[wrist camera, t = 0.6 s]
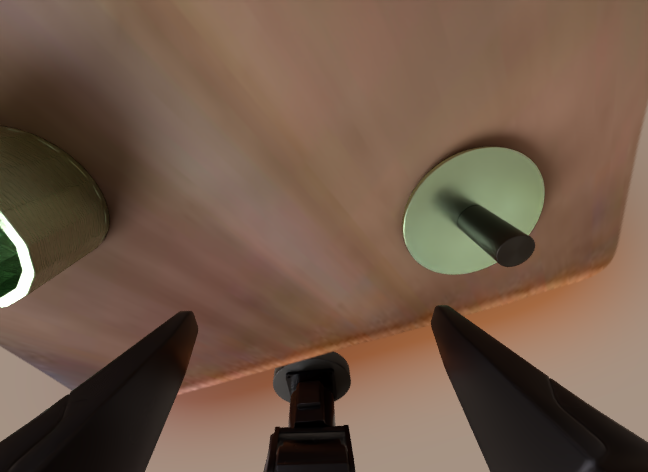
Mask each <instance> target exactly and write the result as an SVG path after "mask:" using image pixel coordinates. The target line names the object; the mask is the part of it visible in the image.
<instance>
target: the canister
mask: <svg viewBox="0 0 648 472" xmlns="http://www.w3.org/2000/svg"><path fill="white" fill-rule="evenodd" d="M108 228H109V213H108V208H107V204H106V201H105V199H104V197H103V195H102V192H101V191H100V189H99V187H98V186H97V184H96V183H95V181H94V180H93V179H92V177H91V176H90V175H89V174H88V173H87V172H86V170H85V169H84V168H83V167H82V166H81V165H80V164H79V163H78V162H76V161H75V160H74V159H73V158H72V157H71V156H69V155H68V154H67V153H66V152H64V151H63V150H61V149H60V148H58V147H57V146H55V145H54V144H52V143H50V142H48V141H46V140H44V139H43V138H40V137H38V136H36V135H33V134H31V133H28V132H25V131H22V130H19V129H15V128H10V127H4V126H0V308H1V307H8V306H9V305H11V304H13V303H15V302H16V301H18V300H20V299H21V298H23V297H25V296H27V295H28V294H30V293H31V292H33V291H34V290H36V289H37V288H39V287H40V286H41V285H43V284H44V283H46V282H47V281H49V280H50V279H52V278H53V277H55V276H56V275H58V274H59V273H61V272H62V271H63V270H65V269H66V268H68V267H69V266H71V265H72V264H74V263H75V262H77V261H78V260H80V259H81V258H83V257H84V256H85V255H87V254H88V253H90V252H91V251H93V250H94V249H96V248H97V247H98V246H99V245H100V243H101V242H102V241H103V240H104V238H105V237H106V234H107V232H108Z"/></svg>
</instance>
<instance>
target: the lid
mask: <svg viewBox="0 0 648 472" xmlns="http://www.w3.org/2000/svg"><path fill="white" fill-rule="evenodd" d="M544 197H545V187H544V182H543V178H542V175H541V173H540V171H539V169H538V168H537V166H536V165H535V164H534V163H533V161H532V160H531V159H530V158H528V157H527V156H525V155H524V154H522V153H520V152H518V151H516V150H512V149H509V148H505V147H498V146H483V147H477V148H472V149H469V150H465V151H462V152H460V153H458V154H455V155H453V156H451V157H449V158H448V159H446V160H444V161H443V162H441V163H440V164H438V165H437V166H436V167H434V168H433V169H432V170H431V171H430V172H429V173H427V174H426V175H425V177H424V178H423V179H422V180H421V181H420V182H419V183H418V185H417V186H416V188H415V189H414V190H413V192H412V194H411V196H410V197H409V199H408V202H407V204H406V207H405V210H404V214H403V219H402V235H403V240H404V243H405V246H406V247H407V249H408V251H409V253H410V254H411V256H412V257H413V258H414V259H415V260H416V261H417V262H418V263H419V264H420V265H422V266H423V267H425V268H427V269H429V270H431V271H434V272H437V273H442V274H451V275H457V274H466V273H471V272H475V271H479V270H482V269H485V268H487V267H489V266H491V265H494V264H495V263H497V262H498V263H499V264H500V265H502V266H505V267H513V266H517V265H519V264H521V263H523V262H525V261H526V260H527V259H528V258H529V257H530V256H531V255H532V253H533V251H534V249H535V242H534V240H533V239H532V238H531V237H530V236H529V234H530V233H531V231H532V230H533V228H534V227H535V225H536V223H537V221H538V219H539V217H540V214H541V212H542V208H543V204H544Z"/></svg>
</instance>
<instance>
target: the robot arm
mask: <svg viewBox="0 0 648 472" xmlns="http://www.w3.org/2000/svg"><path fill="white" fill-rule="evenodd" d="M431 327H432V330H433V333H434V336H435V339H436V342H437V345H438V348H439V352H440V355H441V358H442V360H443V364H444V367H445V369H446V372H447V374H448V376H449V379H450V381H451V383H452V385H453V388H454V390H455V392H456V394H457V397H458V399H459V401H460V403H461V406H462V408H463V410H464V413H465V415H466V417H467V419H468V422H469V424H470V426H471V429H472V431H473V433H474V435H475V438H476V440H477V442H478V445H479V447H480V449H481V451H482V454H483V456H484V458H485V460H486V463H487V465H488V467H489V470H490V472H648V442H646V441H645V440H644V439H642V438H640V437H639V436H637V435H635V434H634V433H633V432H631V431H629V430H628V429H626V428H625V427H623V426H621V425H620V424H618V423H617V422H615V421H614V420H612V419H610V418H609V417H607V416H606V415H604V414H603V413H601V412H600V411H598V410H597V409H595V408H594V407H592V406H590V405H589V404H587V403H586V402H584V401H583V400H582V399H580V398H579V397H577V396H575V395H574V394H573V393H571V392H570V391H568V390H567V389H566V388H564V387H563V386H561V385H560V384H558V383H557V382H556V381H554V380H553V379H551V378H550V379H549V377H548V376H547V375H546V374H544V373H543V372H541V371H540V370H538V369H537V368H536V367H534V366H533V365H531V364H530V363H528V362H527V361H526V360H524V359H523V358H521V357H520V356H519V355H517V354H516V353H514V352H513V351H511V350H510V349H509V348H507V347H506V346H505V345H503V344H502V343H500V342H499V341H497V340H496V339H495V338H493V337H492V336H490V335H489V334H487V333H486V332H485V331H483V330H482V329H480V328H479V327H478V326H476V325H475V324H473V323H472V322H470V321H469V320H468V319H466V318H465V317H463V316H462V315H461V314H459V313H458V312H456V311H455V310H454V309H452V308H451V307H449V306H447V305H438V306H436V307H435V310H434V313H433V317H432V320H431ZM197 334H198V325H197V322H196V319H195V316H194V313H193V312H192V311H180V312H178V313H177V314H176V315H174V316H173V317H171V318H170V319H169V320H167V321H166V322H165V323H163V324H162V325H161V326H159V327H158V328H157V329H155V330H154V331H153V332H151V333H150V334H149V335H147V336H146V337H144V338H143V339H142V340H140V341H139V342H138V343H136V344H135V345H134V346H132V347H131V348H130V349H128V350H127V351H126V352H124V353H123V354H121V355H120V356H119V357H117V358H116V359H115V360H113V361H112V362H111V363H109V364H108V365H107V366H105V367H104V368H103V369H101V370H100V371H99V372H97V373H96V374H94V375H93V376H92V377H90V378H89V379H88V380H86V381H85V382H84V383H82V384H81V385H80V386H78V387H77V388H76V389H74V390H73V391H71V393H70V395H66V396H65V397H63V398H62V399H61V400H59V401H58V402H56V403H55V404H54V405H52V406H51V407H50V408H48V409H47V410H45V411H44V412H43V413H41V414H40V415H39V416H37V417H36V418H34V419H33V420H32V421H30V422H29V423H28V424H26V425H25V426H23V427H22V428H20V429H19V430H17V431H16V432H14V433H13V434H11V435H10V436H8V437H7V438H6V439H4V440H3V441H1V442H0V472H145V470H146V467H147V465H148V463H149V460H150V458H151V455H152V453H153V451H154V448H155V446H156V443H157V441H158V439H159V436H160V434H161V431H162V429H163V427H164V424H165V422H166V419H167V417H168V415H169V412H170V410H171V407H172V405H173V403H174V400H175V398H176V396H177V393H178V391H179V388H180V386H181V384H182V381H183V379H184V376H185V373H186V370H187V367H188V364H189V360H190V357H191V354H192V350H193V347H194V344H195V340H196V337H197ZM285 378H286V382H287V385H288V389H289V393H290V396H291V399H290V413H289V425H288V427H285V428H280V427H275V432H274V434H272V435H271V436H270V444H269V451H268V456H267V460H266V464H265V468H264V472H355V465H354V458H353V452H352V445H351V439H350V433H349V427H348V425H344V426H335V412H334V399H336V398H337V392H336V383H335V375H334V369H332V368H328V369H317V370H307V371H296V372H287V373H286V377H285Z"/></svg>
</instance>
